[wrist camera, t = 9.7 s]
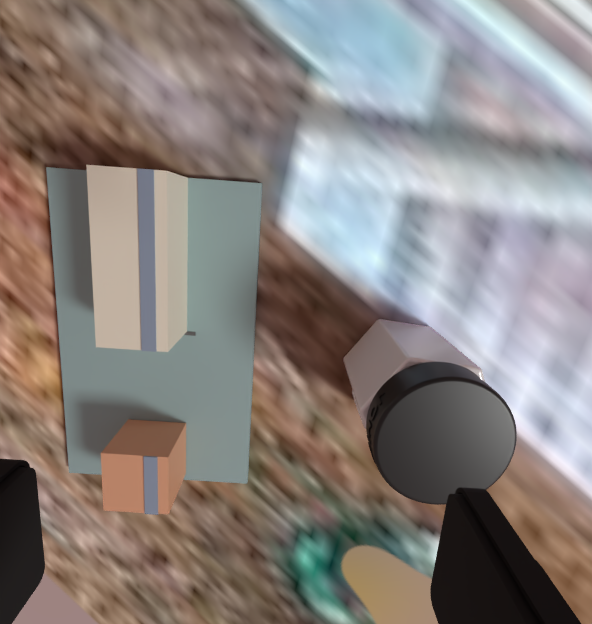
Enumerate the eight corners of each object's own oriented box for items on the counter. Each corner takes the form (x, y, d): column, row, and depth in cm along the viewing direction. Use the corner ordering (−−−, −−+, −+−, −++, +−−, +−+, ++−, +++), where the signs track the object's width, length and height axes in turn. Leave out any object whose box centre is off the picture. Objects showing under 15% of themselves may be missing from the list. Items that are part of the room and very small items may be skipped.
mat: (51, 168, 30) (45, 167, 29) (262, 183, 30) (261, 183, 30) (72, 468, 36) (68, 473, 36) (247, 479, 37) (246, 484, 36)
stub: (128, 419, 34) (100, 453, 29) (186, 423, 34) (167, 458, 29) (129, 469, 36) (103, 511, 31) (185, 473, 36) (168, 515, 31)
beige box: (120, 172, 30) (85, 164, 25) (187, 177, 30) (166, 170, 25) (125, 327, 32) (95, 347, 28) (187, 331, 33) (167, 352, 28)
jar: (331, 335, 33) (350, 400, 22) (424, 301, 33) (496, 349, 21) (365, 425, 35) (399, 529, 24) (454, 395, 35) (534, 487, 23)
